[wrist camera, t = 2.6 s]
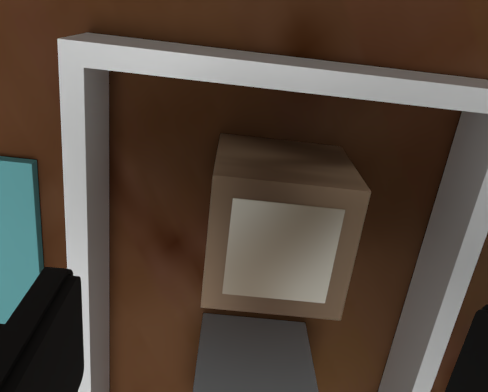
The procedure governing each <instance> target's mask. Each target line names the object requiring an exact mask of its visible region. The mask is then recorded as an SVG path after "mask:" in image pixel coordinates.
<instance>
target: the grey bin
mask: <svg viewBox="0 0 488 392" xmlns="http://www.w3.org/2000/svg"><path fill="white" fill-rule="evenodd" d="M57 40H58V64H59V87H60V110H61V133H62V157H63V180H64V203H65V226H66V250H67V269H71V270H72V271H73V276H79V277H80V278H81V291H82V319H83V346H84V373H83V378H82V382H81V384H80V387H79V390H78V392H109V71H118V72H127V73H136V74H144V75H153V76H162V77H171V78H179V79H188V80H197V81H205V82H214V83H223V84H232V85H240V86H249V87H258V88H266V89H275V90H284V91H293V92H301V93H310V94H319V95H327V96H336V97H345V98H354V99H362V100H371V101H380V102H389V103H397V104H406V105H415V106H423V107H432V108H441V109H450V110H458V111H462V113H461V116H460V119H459V123H458V126H457V129H456V133H455V136H454V139H453V143H452V146H451V149H450V153H449V156H448V159H447V163H446V166H445V169H444V173H443V176H442V179H441V183H440V186H439V189H438V193H437V196H436V199H435V203H434V206H433V209H432V213H431V216H430V219H429V223H428V226H427V229H426V233H425V236H424V239H423V243H422V246H421V249H420V253H419V256H418V259H417V263H416V266H415V269H414V273H413V276H412V279H411V283H410V286H409V289H408V293H407V296H406V299H405V303H404V306H403V309H402V313H401V316H400V319H399V323H398V326H397V329H396V333H395V336H394V339H393V343H392V346H391V349H390V353H389V356H388V359H387V363H386V366H385V369H384V373H383V376H382V379H381V383H380V386H379V389H378V392H430V391H431V389H432V386H433V383H434V380H435V378H436V375H437V372H438V369H439V366H440V364H441V361H442V358H443V355H444V352H445V350H446V347H447V344H448V341H449V339H450V336H451V333H452V330H453V327H454V325H455V322H456V319H457V316H458V313H459V311H460V308H461V305H462V302H463V300H464V297H465V294H466V291H467V288H468V286H469V283H470V280H471V277H472V275H473V272H474V269H475V266H476V263H477V261H478V258H479V255H480V252H481V249H482V247H483V244H484V241H485V238H486V236H487V233H488V80H486V79H478V78H469V77H461V76H452V75H444V74H435V73H427V72H418V71H410V70H401V69H393V68H384V67H376V66H368V65H359V64H351V63H342V62H334V61H325V60H317V59H308V58H300V57H291V56H283V55H274V54H266V53H257V52H249V51H240V50H232V49H223V48H215V47H206V46H198V45H189V44H181V43H173V42H164V41H156V40H147V39H139V38H130V37H122V36H113V35H105V34H96V33H88V32H87V33H82V34H77V35H72V36H68V37H63V38H58V39H57Z"/></svg>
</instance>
